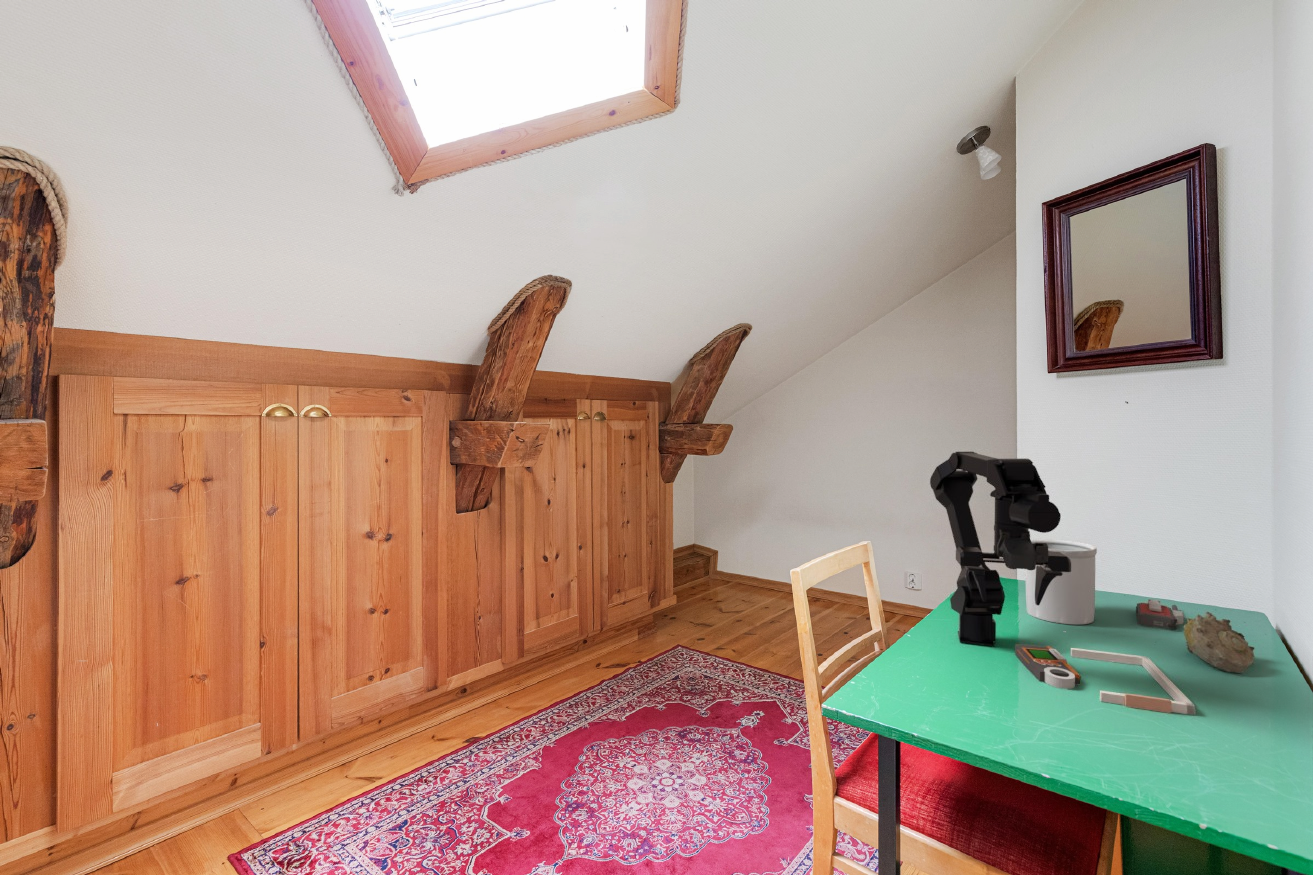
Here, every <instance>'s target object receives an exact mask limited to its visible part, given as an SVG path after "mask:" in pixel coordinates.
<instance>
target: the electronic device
mask: <svg viewBox="0 0 1313 875" xmlns="http://www.w3.org/2000/svg"><path fill="white" fill-rule="evenodd" d="M1014 655H1015V656H1016V658H1018V660H1019V661H1020V663H1022V665H1023V666H1024V667H1025V668H1026V669H1027V670H1028V671H1029V672H1030V673H1031V674H1032V676H1034V677H1035V679H1036V680H1038V682H1040V683H1046V684H1047V685H1048V686H1051V687H1054V688H1057V689H1061V690H1063V689H1064V690H1071V689H1072V690H1073V689H1074V688H1075V687H1076V686H1075V685H1079V686H1080V685H1081V680H1082V676H1081V675H1080V674H1079V673H1078V672H1077V671H1076V670H1075V669H1074V668H1073V667H1072V666H1071V665H1070V664H1069V663H1068V660H1067V658H1065V657H1064V656H1063V655H1062V653H1060V652H1059V651H1058V650H1057V649H1056V648H1052V647H1051V646H1048V645H1047V646H1046V645H1045V646H1044V645H1035V644H1034V645H1033V644H1020V643H1018V644H1017V643H1015V644H1014Z"/></svg>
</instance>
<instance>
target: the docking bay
mask: <svg viewBox="0 0 1313 875" xmlns="http://www.w3.org/2000/svg"><path fill="white" fill-rule="evenodd" d="M1070 656H1071V657H1072V658H1078V659H1085V660H1086V659H1087V660H1096V661H1103V662H1112V663H1119V664H1125V665H1126V664H1127V665H1134V666H1135V665H1136V666H1142V667H1143V668H1144V669H1145V670H1146V671H1147V672H1148V673H1149V674H1150V676H1151V677H1152V678H1154V679H1155V681H1156V682H1157V683H1158V685H1159V686H1161V688H1162V689H1163V690H1164V691H1165V692H1166V693H1167V694H1168V695H1169V696H1170V697H1171V698H1172V700H1171V699H1168V698H1161V697H1156V696H1155V697H1154V696H1148V695H1141V694H1132V693H1126V692H1125V693H1121V692H1120V693H1119V692H1114V691H1113V692H1112V691H1108V690H1099V701H1100V702H1102V703H1109V704H1114V705H1115V704H1116V705H1123V706H1125V707H1127V708H1133V709H1140V710H1145V711H1146V710H1147V711H1154V712H1161V713H1167V714H1172V713H1175V714H1176V713H1177V714H1184V715H1190V716H1196V706H1195V705H1194V703H1193V702H1192V701H1191V700H1190V699H1189V697H1187V696H1186V695H1185V694H1184V693H1183V692H1182V691H1181V690H1180V689H1179V688H1178V687H1177V686H1176V685H1175V683H1173V682H1172V681H1171V679H1169V677H1167V675H1166V674H1165V673H1164V672H1163V671H1162V670H1161V669H1160V668H1159V667H1158V666H1156V664H1155V663H1154V662H1153V661H1152V660H1151V659H1150V658H1149V657H1148V656H1144V655H1135V654H1134V655H1133V654H1126V653H1125V654H1124V653H1118V652H1110V651H1102V650H1093V649H1084V648H1077V647H1070Z"/></svg>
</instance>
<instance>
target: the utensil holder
mask: <svg viewBox="0 0 1313 875" xmlns="http://www.w3.org/2000/svg"><path fill="white" fill-rule="evenodd" d="M1030 540H1031V543H1046V544H1047V545H1048V551H1056V552H1061V553H1062V554H1064V555H1065V556H1067V557H1068V558H1069V559H1070V561H1071V572H1062V573H1063V575H1062V576H1056V577H1055V578H1054V579H1053V580H1052V581H1051V582H1050V584H1049V585H1048V587H1047V589H1046V591H1045V594H1044V596H1043V598H1042V600H1041V603H1040V605H1036V604H1035V581H1036V568H1035V570H1027V569H1024V570H1025V572H1024V576H1025V602H1026V604H1025V605H1026V612H1027V614H1028V615H1029V616H1031V617H1033V618H1035V619H1039V620H1042V621H1045V622H1050V623H1051V622H1052V623H1057V624H1064V625H1076V626H1077V625H1088V624H1091V623H1093V622H1094V621H1095V610H1096V555H1097V552H1098V549H1097V547H1096V546H1095V545H1093V544H1090V543H1086V542H1081V541H1080V542H1079V541H1074V540H1066V539H1065V540H1064V539H1052V538H1050V539H1049V538H1046V539H1045V538H1044V539H1043V538H1040V539H1039V538H1038V539H1030ZM1036 566H1040V565H1036Z"/></svg>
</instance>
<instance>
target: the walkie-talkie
mask: <svg viewBox="0 0 1313 875" xmlns="http://www.w3.org/2000/svg"><path fill="white" fill-rule="evenodd" d="M1147 602H1148V603H1147ZM1147 602H1139V603H1136V606H1135V614H1136V616H1137V617H1136V618H1137V625H1140V626H1144V627H1150V628H1156V629H1157V628H1158V629H1162V630H1170V631H1174V630H1175V629H1177V627H1178V625H1183V624H1184V611H1183V610H1181V611H1180V610H1179V608H1178V606H1177V605H1176V604H1172V605H1171V607H1169V606H1167V605H1163V604H1161V600H1154V599H1148V601H1147Z"/></svg>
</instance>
